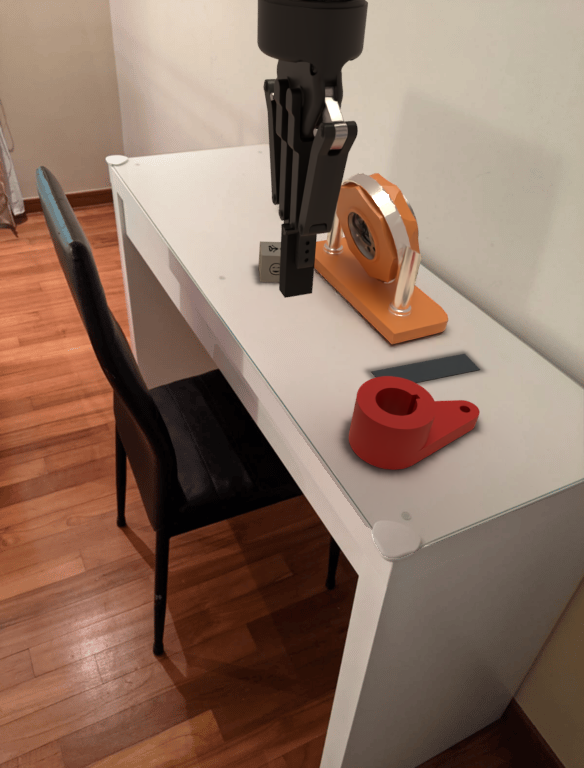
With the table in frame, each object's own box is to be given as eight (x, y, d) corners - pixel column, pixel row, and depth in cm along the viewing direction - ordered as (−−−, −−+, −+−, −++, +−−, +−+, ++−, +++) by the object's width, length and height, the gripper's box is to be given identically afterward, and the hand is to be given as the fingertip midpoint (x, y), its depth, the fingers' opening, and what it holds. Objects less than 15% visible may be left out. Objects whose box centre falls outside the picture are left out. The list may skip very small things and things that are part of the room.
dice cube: (258, 267, 107) (259, 241, 104) (286, 268, 108) (288, 242, 105) (260, 282, 103) (262, 255, 100) (289, 282, 104) (292, 256, 101)
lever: (371, 477, 71) (381, 437, 67) (335, 424, 78) (343, 384, 73) (494, 442, 78) (510, 403, 73) (452, 396, 84) (464, 358, 80)
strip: (480, 369, 89) (480, 369, 89) (384, 389, 84) (384, 388, 84) (464, 354, 92) (464, 353, 92) (371, 371, 87) (371, 371, 87)
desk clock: (388, 347, 92) (417, 222, 79) (297, 256, 112) (308, 144, 99) (452, 331, 97) (489, 211, 84) (353, 247, 117) (371, 139, 104)
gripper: (231, -25, 45) (235, 263, 60) (297, 6, 35) (282, 338, 50) (325, -25, 47) (306, 253, 62) (410, 5, 38) (363, 322, 53)
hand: (295, 291), depth 56 cm, fingers closed
